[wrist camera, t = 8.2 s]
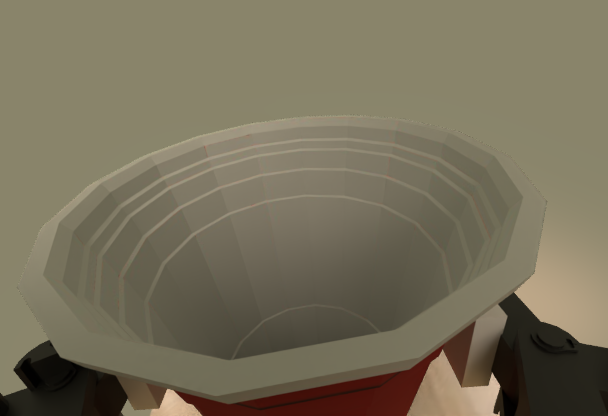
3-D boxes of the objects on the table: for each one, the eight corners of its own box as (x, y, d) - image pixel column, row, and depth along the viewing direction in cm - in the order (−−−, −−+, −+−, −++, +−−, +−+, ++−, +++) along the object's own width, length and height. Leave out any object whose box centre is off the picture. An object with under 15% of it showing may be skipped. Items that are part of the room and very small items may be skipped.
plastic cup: (122, 633, 9) (-288, 339, 3) (231, 327, 18) (174, 127, 13) (532, 678, 7) (957, 329, 2) (416, 325, 17) (437, 104, 12)
